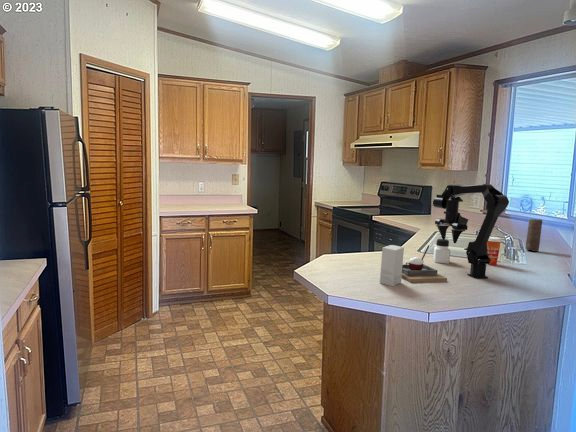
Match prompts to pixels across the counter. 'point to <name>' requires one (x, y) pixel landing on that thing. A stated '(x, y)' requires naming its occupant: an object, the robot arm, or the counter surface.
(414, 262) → the cocoa
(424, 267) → the tray stand
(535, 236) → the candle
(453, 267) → the counter surface
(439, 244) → the medicine bottle
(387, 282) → the skincare box
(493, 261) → the paper cup
